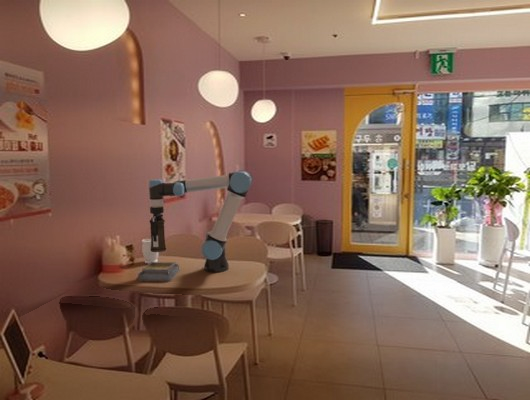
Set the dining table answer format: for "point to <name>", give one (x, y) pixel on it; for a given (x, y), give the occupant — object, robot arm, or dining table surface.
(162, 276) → the grey tray
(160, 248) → the container
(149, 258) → the jar
